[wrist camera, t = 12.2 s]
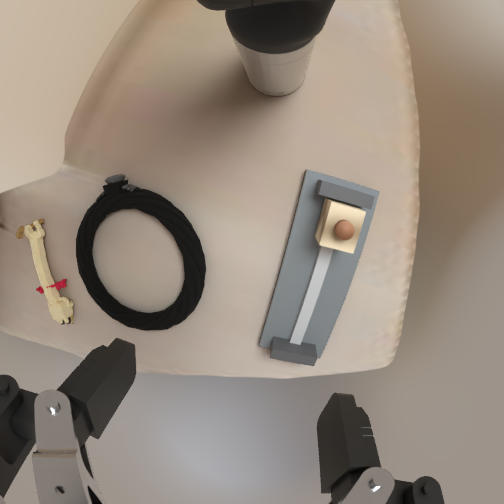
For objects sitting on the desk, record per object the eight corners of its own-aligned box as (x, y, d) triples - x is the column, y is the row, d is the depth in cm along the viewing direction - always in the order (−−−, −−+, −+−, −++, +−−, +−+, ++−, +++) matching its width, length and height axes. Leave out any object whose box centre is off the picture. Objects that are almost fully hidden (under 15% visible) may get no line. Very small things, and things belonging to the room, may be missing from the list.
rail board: (306, 169, 41) (309, 169, 36) (376, 190, 41) (388, 193, 36) (259, 341, 51) (257, 359, 46) (319, 353, 51) (322, 371, 45)
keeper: (325, 197, 40) (333, 203, 33) (356, 206, 39) (369, 213, 33) (314, 236, 41) (321, 248, 35) (345, 244, 41) (356, 257, 35)
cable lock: (97, 333, 51) (56, 195, 43) (106, 324, 55) (68, 192, 46) (218, 333, 47) (182, 156, 39) (222, 322, 51) (189, 157, 43)
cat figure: (31, 226, 51) (61, 323, 56) (5, 232, 43) (39, 337, 47) (53, 215, 49) (85, 320, 54) (26, 220, 41) (62, 336, 45)
